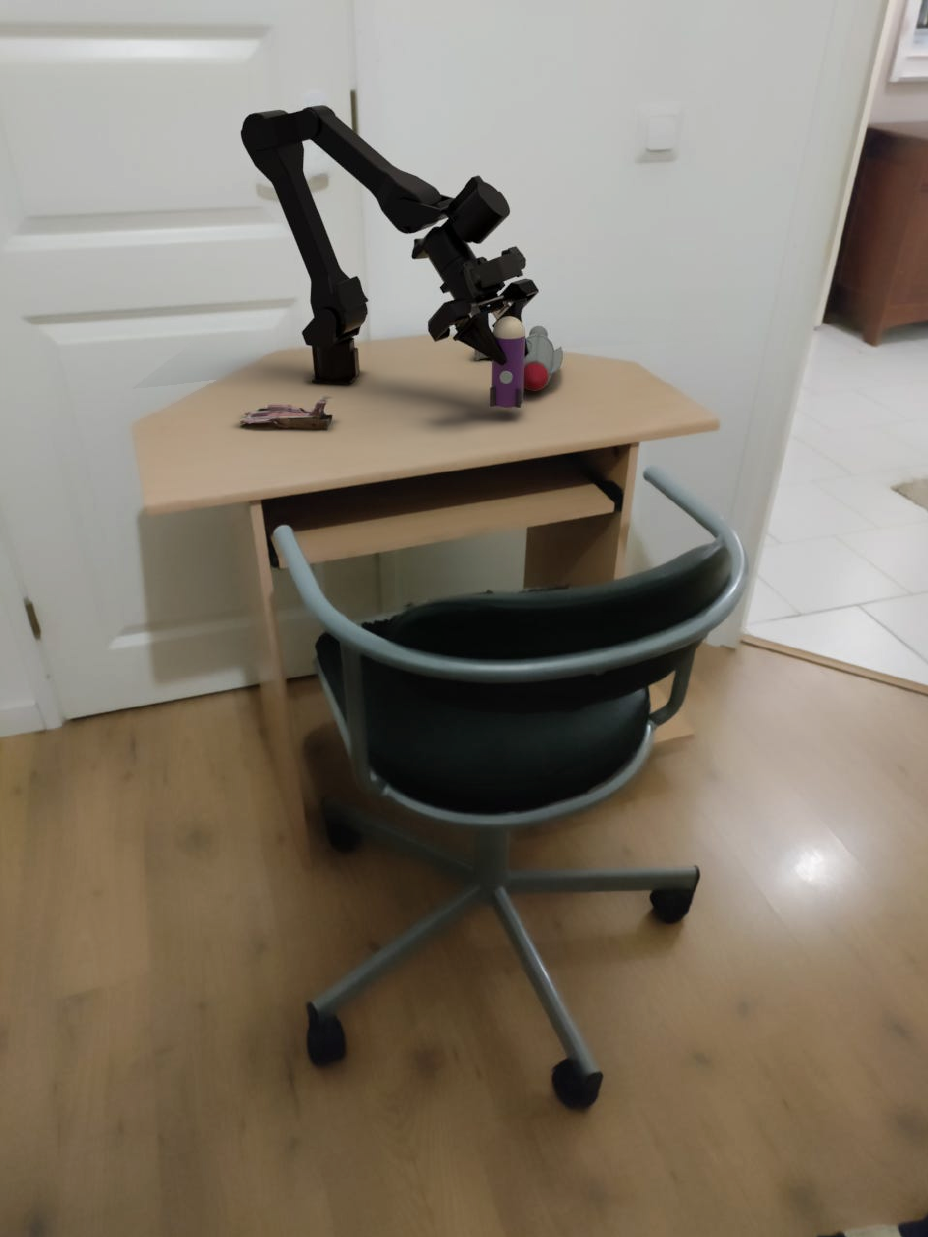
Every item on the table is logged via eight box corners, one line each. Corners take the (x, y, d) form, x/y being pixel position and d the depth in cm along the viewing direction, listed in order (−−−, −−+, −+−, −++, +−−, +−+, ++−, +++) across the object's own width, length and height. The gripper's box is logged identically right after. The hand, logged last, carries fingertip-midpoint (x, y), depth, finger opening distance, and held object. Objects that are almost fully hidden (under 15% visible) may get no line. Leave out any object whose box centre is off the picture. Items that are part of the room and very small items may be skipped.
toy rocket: (489, 407, 130) (490, 321, 123) (493, 395, 134) (494, 311, 127) (520, 408, 130) (524, 322, 123) (523, 397, 134) (527, 312, 127)
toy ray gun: (480, 358, 160) (564, 349, 158) (466, 408, 139) (563, 399, 137) (476, 324, 157) (562, 314, 155) (461, 370, 136) (560, 360, 134)
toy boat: (236, 429, 129) (232, 402, 127) (248, 414, 134) (244, 388, 131) (326, 433, 128) (324, 405, 125) (335, 418, 132) (333, 391, 130)
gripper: (442, 239, 115) (506, 342, 115) (531, 218, 127) (589, 312, 127) (400, 291, 124) (460, 388, 124) (487, 267, 136) (542, 356, 136)
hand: (515, 359), depth 128 cm, fingers closed on toy rocket, 4 cm apart
